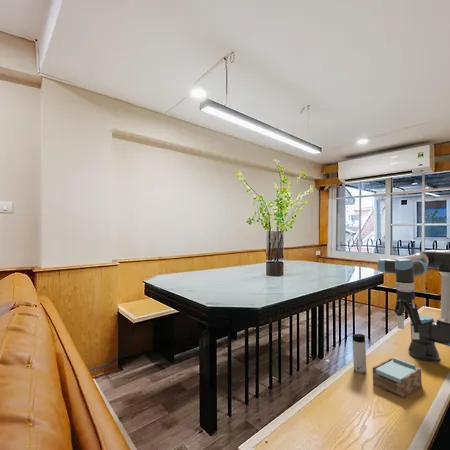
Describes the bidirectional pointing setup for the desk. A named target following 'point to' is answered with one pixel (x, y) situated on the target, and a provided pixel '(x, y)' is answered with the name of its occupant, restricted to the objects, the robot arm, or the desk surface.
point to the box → (401, 390)
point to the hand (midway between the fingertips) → (407, 333)
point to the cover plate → (395, 369)
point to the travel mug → (359, 353)
